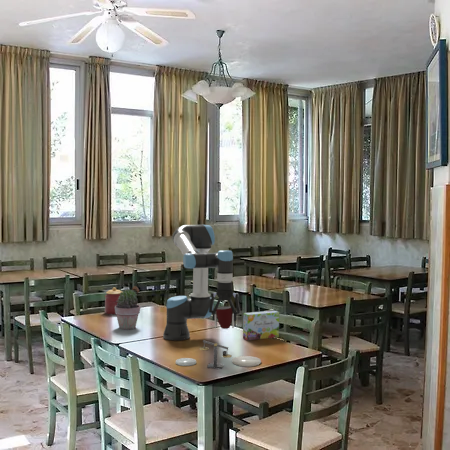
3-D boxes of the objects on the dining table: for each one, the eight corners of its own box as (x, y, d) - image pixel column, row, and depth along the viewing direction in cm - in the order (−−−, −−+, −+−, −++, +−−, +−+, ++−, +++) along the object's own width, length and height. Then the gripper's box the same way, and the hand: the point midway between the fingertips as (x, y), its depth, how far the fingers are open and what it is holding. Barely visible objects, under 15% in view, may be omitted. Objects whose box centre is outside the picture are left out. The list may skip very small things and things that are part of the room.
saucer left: (173, 365, 275) (173, 363, 274) (177, 359, 284) (177, 357, 284) (194, 366, 273) (194, 364, 273) (197, 360, 283) (197, 358, 283)
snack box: (247, 341, 324) (247, 314, 323) (242, 338, 329) (243, 312, 328) (279, 337, 334) (279, 311, 333) (274, 335, 339) (274, 309, 338)
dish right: (230, 365, 275) (230, 363, 275) (233, 357, 289) (233, 355, 289) (259, 367, 273) (259, 364, 273) (261, 359, 287) (261, 356, 287)
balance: (198, 367, 272) (198, 341, 271) (200, 364, 276) (200, 338, 276) (230, 369, 270) (231, 342, 269) (232, 366, 275) (232, 340, 274)
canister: (101, 314, 392) (101, 288, 392) (108, 310, 405) (108, 285, 404) (119, 314, 390) (120, 289, 389) (126, 311, 403) (126, 286, 402)
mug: (211, 328, 287) (209, 308, 287) (223, 325, 293) (221, 305, 292) (224, 330, 279) (223, 309, 279) (237, 327, 285) (235, 307, 284)
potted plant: (104, 329, 346) (105, 288, 345) (122, 323, 364) (122, 284, 363) (130, 332, 339) (131, 290, 338) (147, 326, 357) (147, 286, 356)
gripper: (202, 281, 283) (202, 327, 284) (244, 283, 280) (244, 329, 281) (205, 280, 290) (205, 324, 291) (246, 281, 287) (246, 326, 288)
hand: (224, 327), depth 286 cm, fingers closed on mug, 8 cm apart
